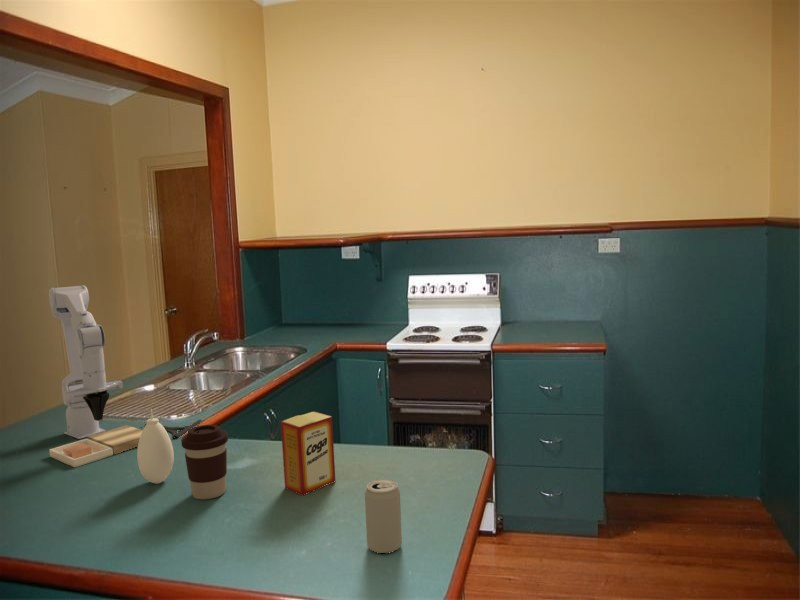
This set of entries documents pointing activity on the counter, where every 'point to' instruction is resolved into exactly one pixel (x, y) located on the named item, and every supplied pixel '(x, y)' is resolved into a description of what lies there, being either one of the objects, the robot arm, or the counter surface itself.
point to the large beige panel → (119, 438)
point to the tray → (97, 453)
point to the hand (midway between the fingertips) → (98, 419)
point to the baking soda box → (308, 452)
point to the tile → (77, 451)
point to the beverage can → (383, 516)
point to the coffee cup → (206, 460)
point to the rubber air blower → (155, 452)
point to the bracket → (184, 429)
